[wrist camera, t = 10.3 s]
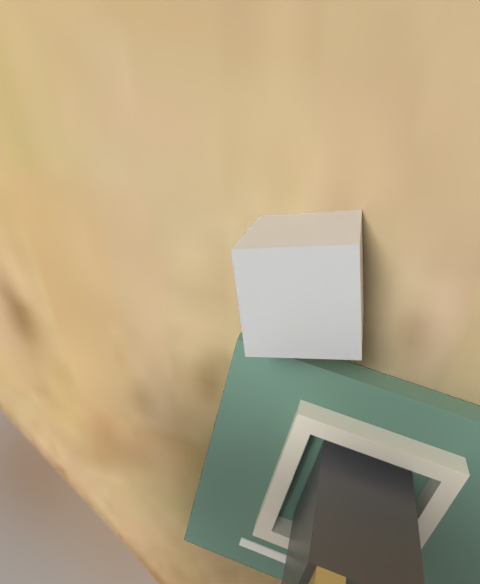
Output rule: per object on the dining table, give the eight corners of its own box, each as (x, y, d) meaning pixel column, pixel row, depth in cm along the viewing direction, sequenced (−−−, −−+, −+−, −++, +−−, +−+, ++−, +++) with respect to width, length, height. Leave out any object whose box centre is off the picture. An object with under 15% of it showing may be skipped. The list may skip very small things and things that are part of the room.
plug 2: (412, 470, 20) (430, 635, 14) (373, 541, 22) (374, 709, 16) (324, 439, 21) (305, 585, 15) (294, 511, 23) (267, 663, 17)
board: (613, 450, 19) (641, 493, 17) (462, 631, 25) (470, 677, 23) (244, 326, 21) (231, 351, 19) (191, 522, 27) (177, 555, 25)
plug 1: (361, 209, 17) (359, 244, 14) (363, 304, 19) (361, 360, 15) (260, 215, 18) (231, 249, 15) (269, 304, 20) (245, 356, 16)
